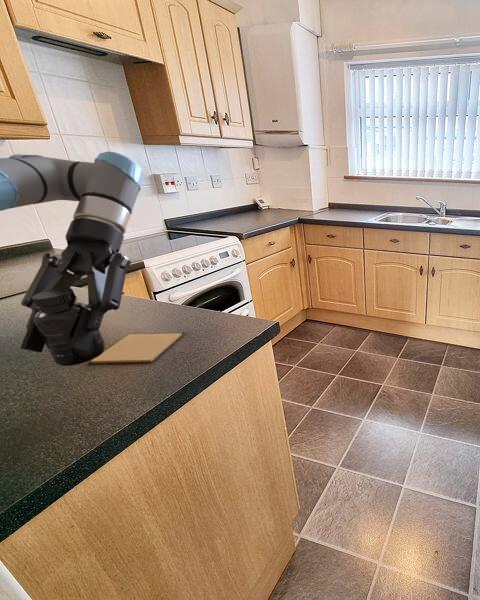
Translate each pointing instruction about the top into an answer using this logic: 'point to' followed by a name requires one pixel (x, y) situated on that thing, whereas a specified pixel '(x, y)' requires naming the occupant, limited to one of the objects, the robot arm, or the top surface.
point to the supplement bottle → (63, 326)
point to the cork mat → (137, 348)
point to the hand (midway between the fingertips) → (55, 349)
